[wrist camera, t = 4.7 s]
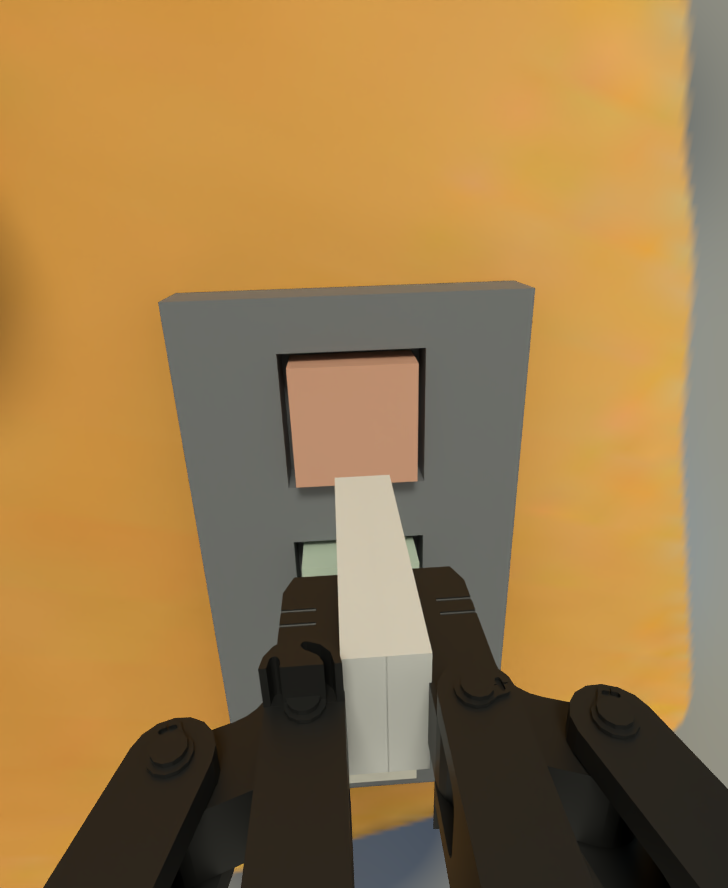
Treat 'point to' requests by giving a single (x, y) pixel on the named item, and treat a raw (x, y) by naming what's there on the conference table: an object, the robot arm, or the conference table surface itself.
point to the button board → (313, 508)
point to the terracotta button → (353, 415)
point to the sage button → (324, 557)
